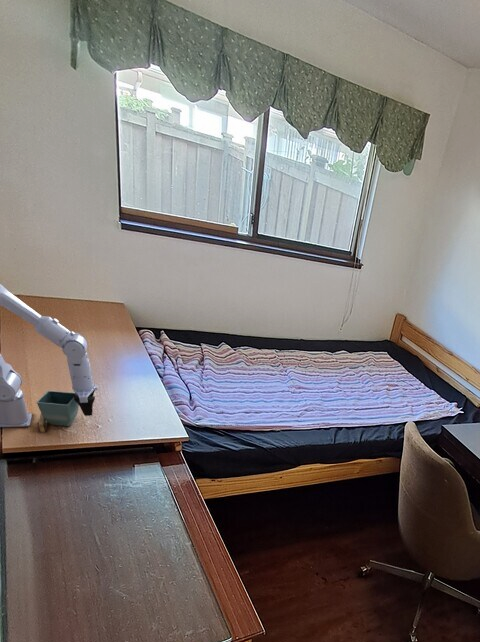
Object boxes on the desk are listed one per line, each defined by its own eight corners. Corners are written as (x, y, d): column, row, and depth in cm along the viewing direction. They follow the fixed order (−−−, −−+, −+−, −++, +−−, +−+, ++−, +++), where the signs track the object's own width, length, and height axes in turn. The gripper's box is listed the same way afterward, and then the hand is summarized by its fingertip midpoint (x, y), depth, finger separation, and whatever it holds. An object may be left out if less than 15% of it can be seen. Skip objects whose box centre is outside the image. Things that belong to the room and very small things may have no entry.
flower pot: (83, 416, 153) (78, 392, 148) (74, 429, 146) (68, 405, 141) (54, 414, 151) (47, 390, 146) (43, 427, 144) (35, 402, 139)
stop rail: (40, 432, 142) (38, 424, 140) (42, 419, 147) (40, 412, 146) (46, 432, 143) (44, 424, 141) (48, 419, 148) (46, 412, 147)
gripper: (95, 383, 139) (102, 422, 147) (95, 364, 149) (102, 401, 157) (68, 384, 136) (76, 423, 144) (70, 364, 146) (78, 402, 153)
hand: (88, 412), depth 150 cm, fingers open, 4 cm apart
